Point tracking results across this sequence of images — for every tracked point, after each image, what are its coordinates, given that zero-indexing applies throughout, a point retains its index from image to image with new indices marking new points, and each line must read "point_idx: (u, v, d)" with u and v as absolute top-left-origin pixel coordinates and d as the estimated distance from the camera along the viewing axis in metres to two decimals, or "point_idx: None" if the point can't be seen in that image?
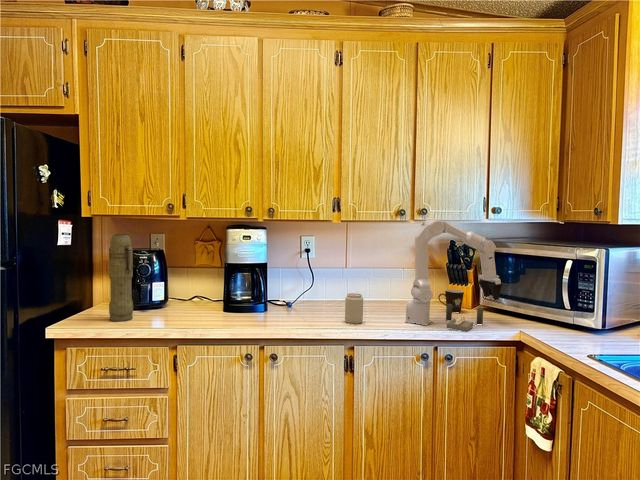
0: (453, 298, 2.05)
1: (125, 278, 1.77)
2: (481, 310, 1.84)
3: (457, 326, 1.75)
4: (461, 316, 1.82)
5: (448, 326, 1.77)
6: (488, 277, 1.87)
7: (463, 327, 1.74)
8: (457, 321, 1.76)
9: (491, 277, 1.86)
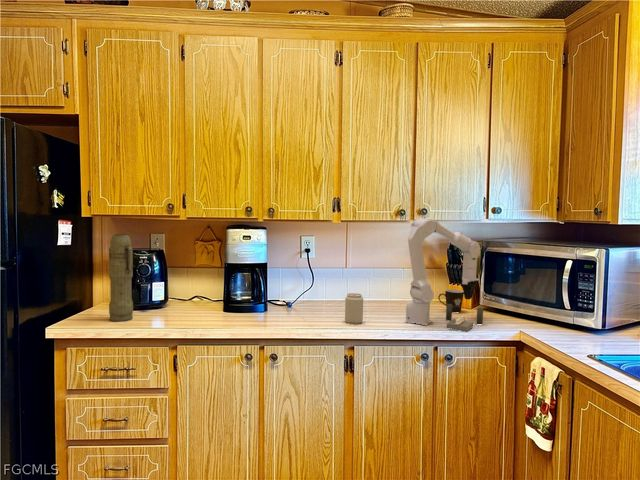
0: (453, 298, 2.05)
1: (125, 278, 1.77)
2: (481, 310, 1.84)
3: (457, 326, 1.75)
4: (461, 316, 1.82)
5: (448, 326, 1.77)
6: (464, 277, 1.91)
7: (463, 327, 1.74)
8: (457, 321, 1.76)
9: (466, 277, 1.90)
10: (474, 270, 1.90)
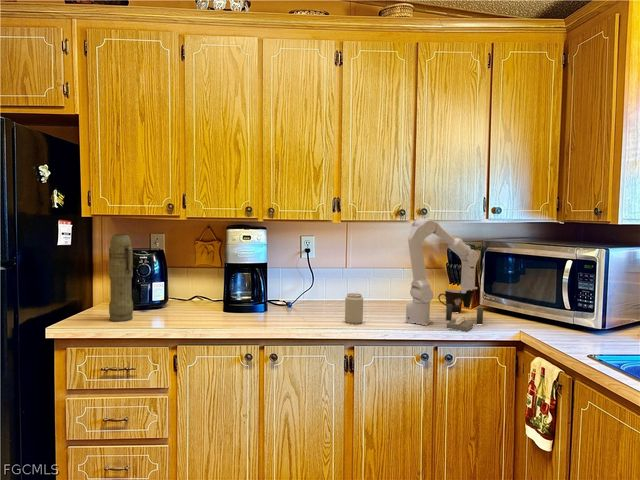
0: (453, 298, 2.05)
1: (125, 278, 1.77)
2: (481, 310, 1.84)
3: (457, 326, 1.75)
4: (461, 316, 1.82)
5: (448, 326, 1.77)
6: (462, 285, 1.90)
7: (463, 327, 1.74)
8: (457, 321, 1.76)
9: (464, 286, 1.89)
10: (472, 279, 1.88)
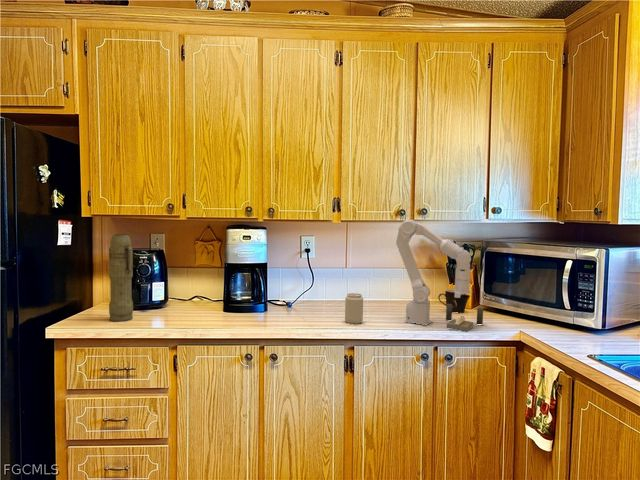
0: (453, 298, 2.05)
1: (125, 278, 1.77)
2: (481, 310, 1.84)
3: (457, 326, 1.75)
4: (461, 316, 1.82)
5: (448, 326, 1.77)
6: (456, 289, 1.79)
7: (463, 327, 1.74)
8: (457, 321, 1.76)
9: (458, 290, 1.78)
10: (467, 282, 1.78)
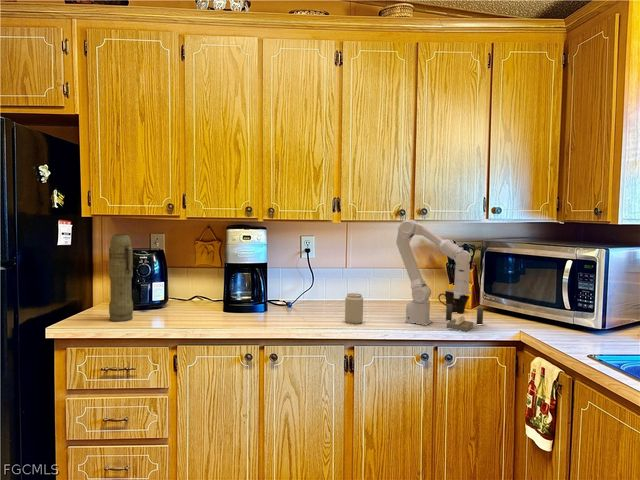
0: None
1: (125, 278, 1.77)
2: (481, 310, 1.84)
3: (457, 326, 1.75)
4: (461, 316, 1.82)
5: (448, 326, 1.77)
6: (455, 290, 1.78)
7: (463, 327, 1.74)
8: (457, 321, 1.76)
9: (458, 291, 1.77)
10: (466, 283, 1.76)
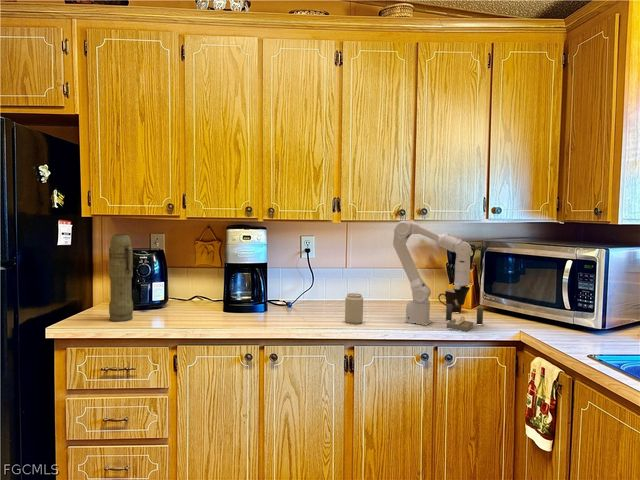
0: (453, 298, 2.05)
1: (125, 278, 1.77)
2: (481, 310, 1.84)
3: (457, 326, 1.75)
4: (461, 316, 1.82)
5: (448, 326, 1.77)
6: (456, 281, 1.78)
7: (463, 327, 1.74)
8: (457, 321, 1.76)
9: (458, 282, 1.77)
10: (467, 274, 1.76)
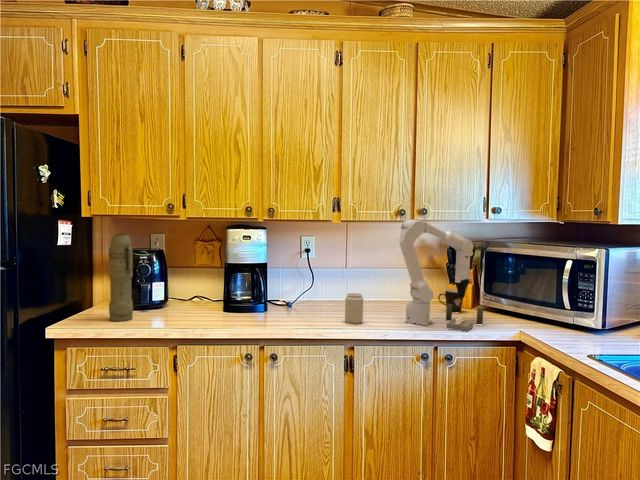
0: (453, 298, 2.05)
1: (125, 278, 1.77)
2: (481, 310, 1.84)
3: (457, 326, 1.75)
4: (461, 316, 1.82)
5: (448, 326, 1.77)
6: (457, 275, 1.89)
7: (463, 327, 1.74)
8: (457, 321, 1.76)
9: (459, 276, 1.88)
10: (467, 268, 1.87)
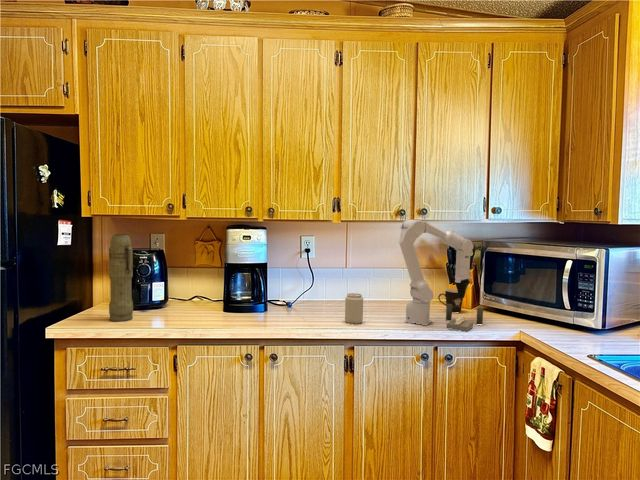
0: (453, 298, 2.05)
1: (125, 278, 1.77)
2: (481, 310, 1.84)
3: (457, 326, 1.75)
4: (461, 316, 1.82)
5: (448, 326, 1.77)
6: (457, 275, 1.89)
7: (463, 327, 1.74)
8: (457, 321, 1.76)
9: (459, 276, 1.88)
10: (467, 268, 1.87)
